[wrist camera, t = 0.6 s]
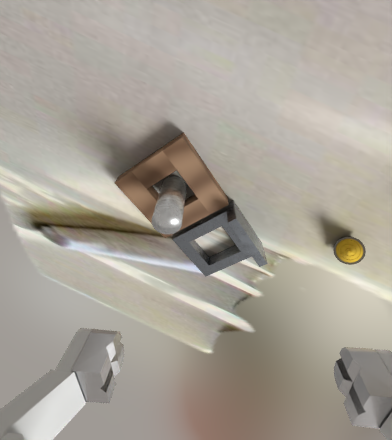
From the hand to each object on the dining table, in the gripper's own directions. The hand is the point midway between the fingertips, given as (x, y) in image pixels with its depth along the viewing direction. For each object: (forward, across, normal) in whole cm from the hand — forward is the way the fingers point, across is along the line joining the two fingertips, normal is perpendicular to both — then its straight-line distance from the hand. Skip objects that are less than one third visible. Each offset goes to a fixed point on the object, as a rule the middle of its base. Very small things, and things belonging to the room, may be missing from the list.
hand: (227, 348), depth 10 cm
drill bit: (+40, -25, +20) cm, 51 cm away
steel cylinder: (+37, +8, +9) cm, 39 cm away
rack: (+39, 0, +20) cm, 44 cm away
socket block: (+37, +8, +9) cm, 39 cm away
